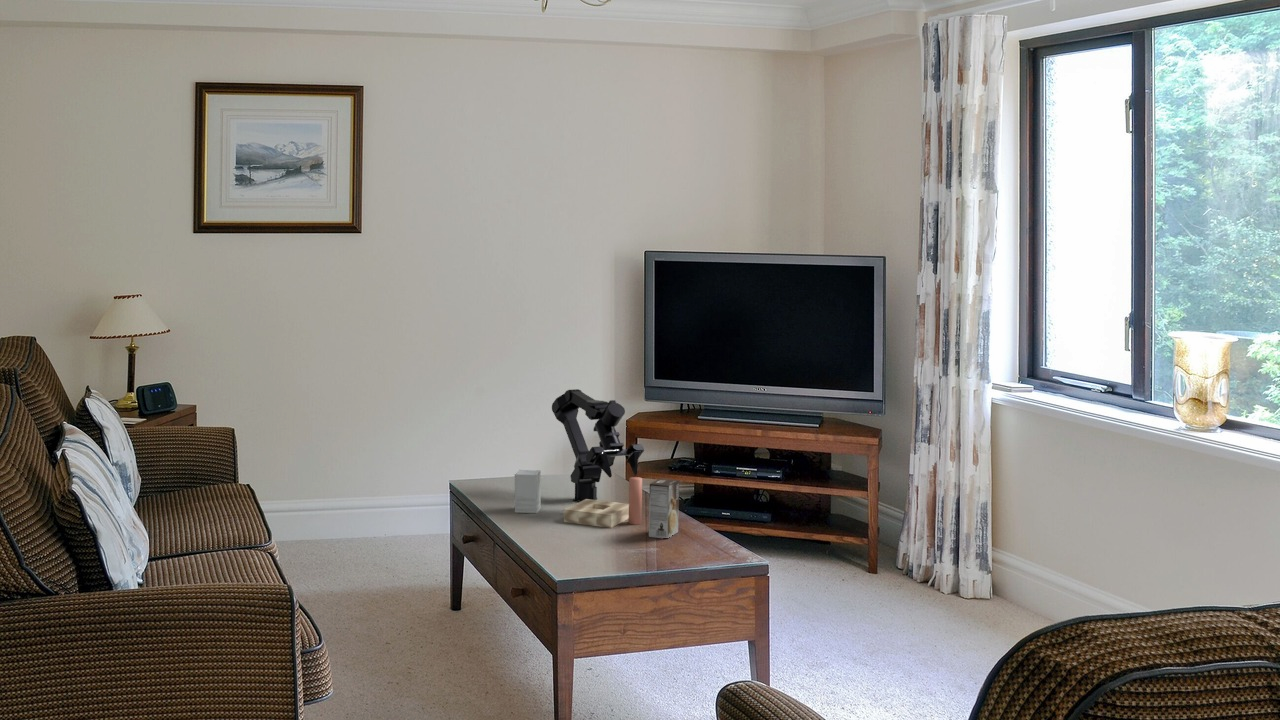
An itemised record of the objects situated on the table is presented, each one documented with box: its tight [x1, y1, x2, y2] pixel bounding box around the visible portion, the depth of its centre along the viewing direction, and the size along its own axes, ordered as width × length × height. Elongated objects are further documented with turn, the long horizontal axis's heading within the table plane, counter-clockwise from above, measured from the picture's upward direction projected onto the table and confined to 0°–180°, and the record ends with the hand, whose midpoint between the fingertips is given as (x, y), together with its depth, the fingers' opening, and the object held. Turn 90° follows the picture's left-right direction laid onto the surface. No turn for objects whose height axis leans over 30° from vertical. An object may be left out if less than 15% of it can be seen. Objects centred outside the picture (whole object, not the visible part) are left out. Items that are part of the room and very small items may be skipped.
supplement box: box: [514, 469, 542, 514], centre depth 350 cm, size 7×7×13 cm
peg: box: [627, 476, 643, 526], centre depth 337 cm, size 4×4×14 cm
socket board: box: [563, 499, 629, 529], centre depth 341 cm, size 16×16×4 cm
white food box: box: [648, 478, 680, 539], centre depth 324 cm, size 9×6×16 cm
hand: (623, 475), depth 344 cm, fingers open, 9 cm apart
